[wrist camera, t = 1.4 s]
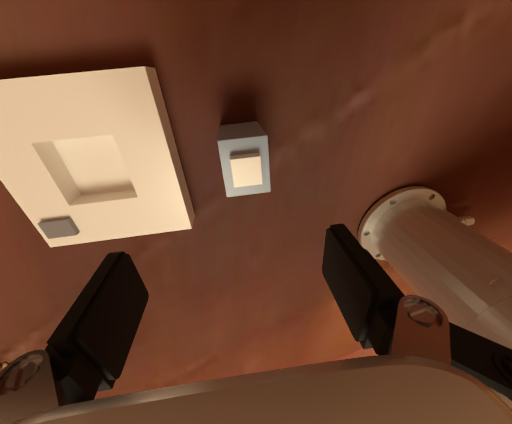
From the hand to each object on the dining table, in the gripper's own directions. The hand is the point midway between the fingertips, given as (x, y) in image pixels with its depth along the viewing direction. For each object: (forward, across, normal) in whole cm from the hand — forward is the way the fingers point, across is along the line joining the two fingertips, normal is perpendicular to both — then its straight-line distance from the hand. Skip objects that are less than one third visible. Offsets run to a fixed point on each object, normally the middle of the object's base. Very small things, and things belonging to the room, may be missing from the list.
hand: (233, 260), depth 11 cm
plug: (+17, -1, -1) cm, 17 cm away
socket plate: (+17, +14, -1) cm, 22 cm away
